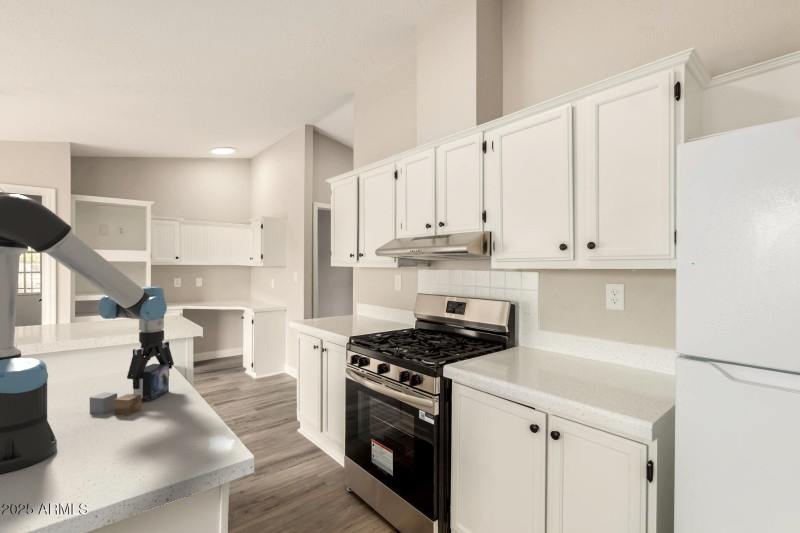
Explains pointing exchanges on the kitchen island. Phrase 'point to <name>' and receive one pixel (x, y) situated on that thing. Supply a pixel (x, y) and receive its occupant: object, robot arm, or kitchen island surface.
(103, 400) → the slate-grey block
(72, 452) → the kitchen island surface
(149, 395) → the small box
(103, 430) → the kitchen island surface
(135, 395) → the walnut block
